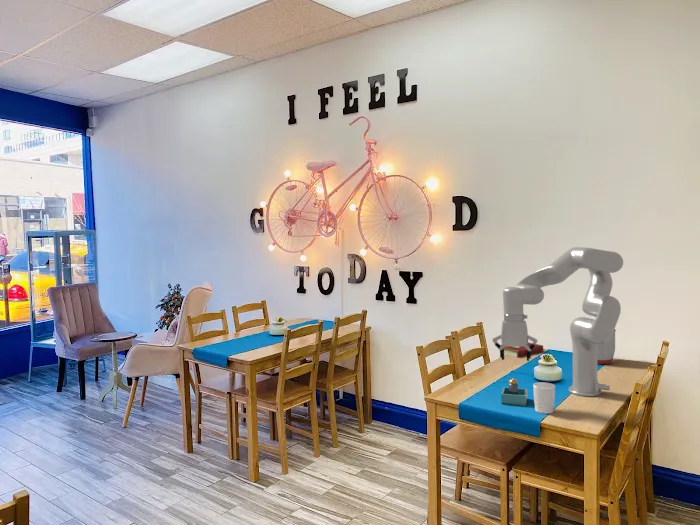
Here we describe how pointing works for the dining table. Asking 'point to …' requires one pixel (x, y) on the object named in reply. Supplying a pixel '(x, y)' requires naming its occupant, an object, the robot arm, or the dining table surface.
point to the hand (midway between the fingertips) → (515, 359)
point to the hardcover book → (522, 350)
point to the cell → (513, 386)
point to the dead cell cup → (514, 397)
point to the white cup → (544, 397)
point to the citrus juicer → (606, 351)
